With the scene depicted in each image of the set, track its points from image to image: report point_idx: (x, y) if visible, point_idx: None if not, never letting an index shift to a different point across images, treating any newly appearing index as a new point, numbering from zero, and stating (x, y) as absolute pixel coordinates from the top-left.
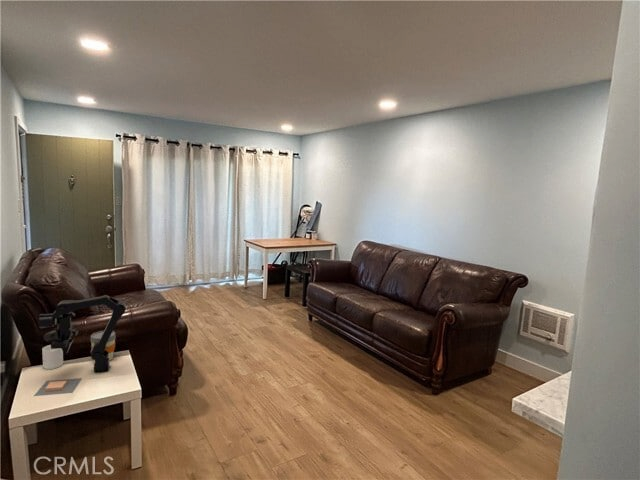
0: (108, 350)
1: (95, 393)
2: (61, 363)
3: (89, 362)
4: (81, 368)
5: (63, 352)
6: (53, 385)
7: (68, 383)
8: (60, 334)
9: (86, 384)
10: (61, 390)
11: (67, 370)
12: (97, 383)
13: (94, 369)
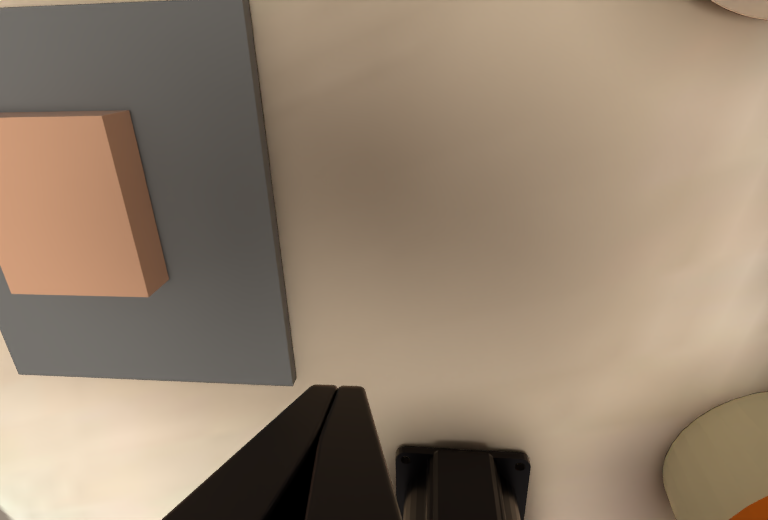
0: None
1: (64, 503)
2: (764, 16)
3: (730, 349)
4: (570, 305)
5: (266, 432)
6: (27, 191)
7: (178, 291)
8: None
9: (194, 426)
10: None
11: (558, 156)
12: None
13: (432, 468)
